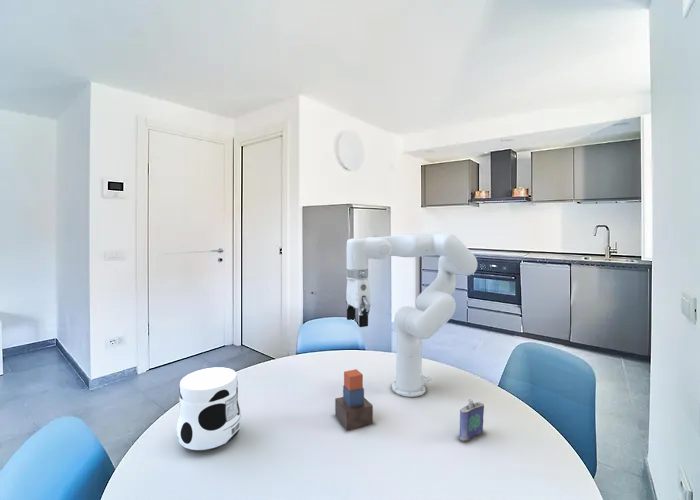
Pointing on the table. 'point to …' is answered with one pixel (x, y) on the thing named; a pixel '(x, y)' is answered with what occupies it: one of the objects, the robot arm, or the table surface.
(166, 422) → the table surface
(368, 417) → the walnut base
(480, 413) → the flask
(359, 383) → the terracotta cube
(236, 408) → the milk container
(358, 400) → the blue cube
